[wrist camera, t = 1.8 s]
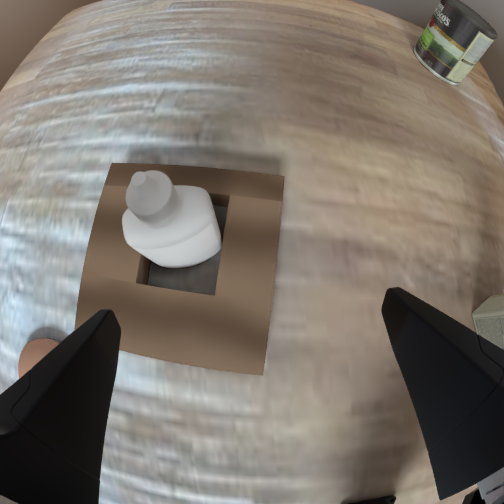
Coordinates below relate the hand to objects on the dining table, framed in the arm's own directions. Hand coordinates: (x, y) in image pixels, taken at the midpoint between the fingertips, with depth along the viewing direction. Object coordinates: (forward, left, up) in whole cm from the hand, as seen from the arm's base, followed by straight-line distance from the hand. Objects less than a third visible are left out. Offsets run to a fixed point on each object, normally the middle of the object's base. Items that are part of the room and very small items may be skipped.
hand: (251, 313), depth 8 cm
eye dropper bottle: (+5, +5, -14) cm, 15 cm away
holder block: (+3, +6, -14) cm, 15 cm away
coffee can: (+42, -28, -14) cm, 52 cm away
